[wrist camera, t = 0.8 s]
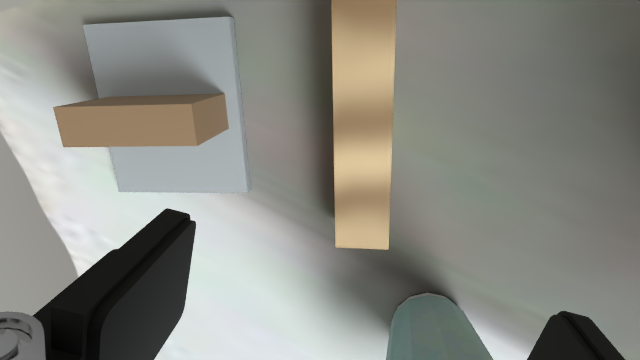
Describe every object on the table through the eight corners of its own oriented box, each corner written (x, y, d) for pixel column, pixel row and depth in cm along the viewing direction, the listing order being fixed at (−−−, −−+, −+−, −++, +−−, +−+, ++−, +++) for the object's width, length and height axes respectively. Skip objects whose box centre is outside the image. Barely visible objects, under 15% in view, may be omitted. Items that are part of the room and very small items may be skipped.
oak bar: (338, -34, 28) (330, -50, 23) (394, -37, 28) (398, -54, 23) (341, 220, 35) (335, 247, 30) (386, 221, 34) (388, 249, 29)
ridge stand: (233, 17, 30) (193, 9, 23) (250, 189, 34) (221, 222, 28) (91, 25, 32) (16, 19, 25) (125, 188, 36) (70, 219, 29)
